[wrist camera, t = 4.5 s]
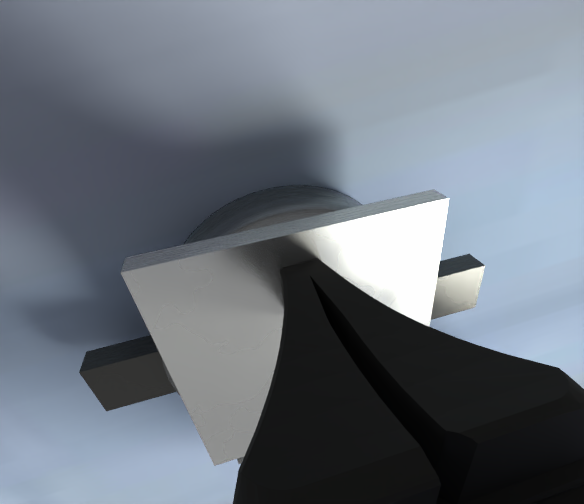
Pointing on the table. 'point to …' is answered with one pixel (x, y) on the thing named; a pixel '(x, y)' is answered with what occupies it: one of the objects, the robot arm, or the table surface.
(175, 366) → the lid
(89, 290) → the table surface
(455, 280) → the pot
